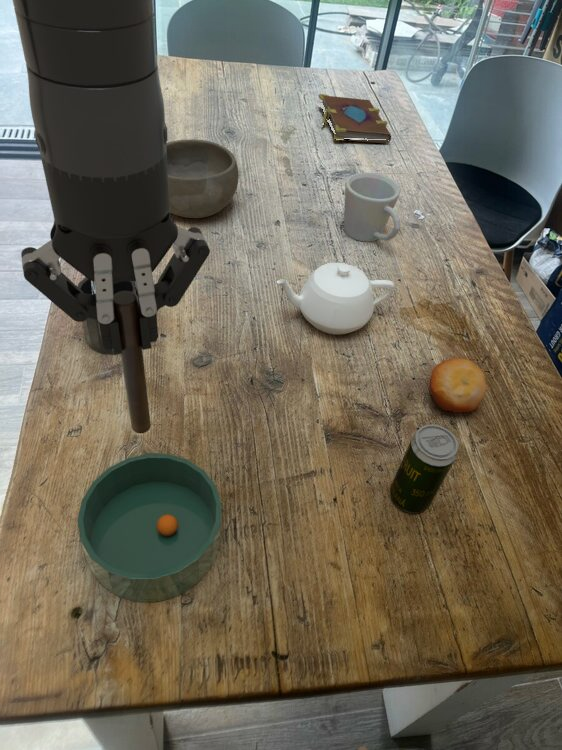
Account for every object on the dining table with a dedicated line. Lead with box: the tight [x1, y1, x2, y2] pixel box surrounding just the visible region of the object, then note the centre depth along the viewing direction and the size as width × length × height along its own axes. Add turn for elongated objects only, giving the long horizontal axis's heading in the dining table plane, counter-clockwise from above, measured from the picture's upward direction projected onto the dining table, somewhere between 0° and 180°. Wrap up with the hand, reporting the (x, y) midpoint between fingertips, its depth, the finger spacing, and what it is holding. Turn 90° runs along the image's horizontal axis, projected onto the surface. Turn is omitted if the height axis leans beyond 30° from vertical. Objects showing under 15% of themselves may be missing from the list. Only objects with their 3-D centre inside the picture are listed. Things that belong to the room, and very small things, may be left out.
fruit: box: [428, 357, 488, 413], centre depth 85 cm, size 8×8×8 cm
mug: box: [343, 171, 401, 243], centre depth 111 cm, size 10×15×10 cm
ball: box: [157, 514, 178, 536], centre depth 67 cm, size 2×2×2 cm
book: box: [318, 93, 392, 144], centre depth 149 cm, size 16×25×5 cm, turn 9°
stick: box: [113, 291, 151, 435], centre depth 50 cm, size 2×2×16 cm
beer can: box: [389, 423, 459, 514], centre depth 70 cm, size 5×5×12 cm
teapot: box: [276, 261, 396, 335], centre depth 94 cm, size 20×12×10 cm, turn 100°
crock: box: [76, 276, 137, 355], centre depth 86 cm, size 8×8×9 cm
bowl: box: [166, 139, 240, 219], centre depth 113 cm, size 17×18×10 cm
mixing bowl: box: [76, 453, 222, 603], centre depth 65 cm, size 15×15×6 cm
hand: (130, 344), depth 48 cm, fingers closed on stick, 2 cm apart
